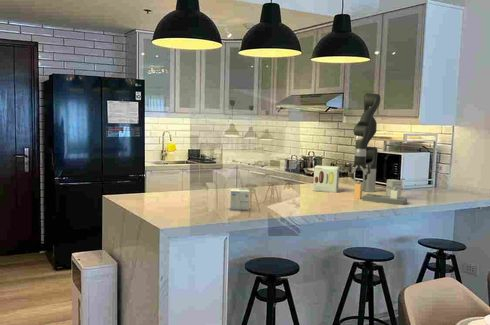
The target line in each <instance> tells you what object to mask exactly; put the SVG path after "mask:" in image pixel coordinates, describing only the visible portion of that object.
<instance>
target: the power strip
mask: <svg viewBox="0 0 490 325" xmlns="http://www.w3.org/2000/svg"><path fill="white" fill-rule="evenodd" d="M396 189H397V187H393V190H391V196H386V195H381V194H373V193H372V194H371V193H367V194H365V195H362V201H365V202H374V203H380V204H381V203H382V204H392V205H400V206H405V205H406V204H407V203H408V198H407V197H398V192H399V190H396Z"/></svg>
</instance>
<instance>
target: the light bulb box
mask: <svg viewBox="0 0 490 325" xmlns="http://www.w3.org/2000/svg"><path fill="white" fill-rule="evenodd" d="M229 203H230V204H229V205H230V206H229V207H230V210H239V211H240V210H242V211H244V210H245V211H246V210H247V211H249V210H250V189H230V202H229Z"/></svg>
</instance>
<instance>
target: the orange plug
mask: <svg viewBox="0 0 490 325" xmlns="http://www.w3.org/2000/svg"><path fill="white" fill-rule="evenodd" d="M362 186H363V183H361V180H357V181H356V183H354V190H353V191H354V195H353V199H355V200H363V191H362Z"/></svg>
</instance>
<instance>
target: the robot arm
mask: <svg viewBox="0 0 490 325" xmlns="http://www.w3.org/2000/svg"><path fill="white" fill-rule="evenodd" d="M380 104H381V95H380V94H378V93H371V92H370V93H367V92H366V93H365V94H364V97H363V113H362V114H361V117H360V119H359V120H358V122H357V123H356V124H355V126H354V127H353V130H352V132H353V135H355V136H356V137H362V138H361V139H357V140H356V141H355V148H354V159H353V160H354V162H353V163H349V165H348V173H350V177H351V178H350V179H352V180H354V179H355V172H356V171H360V172H362V192H366V193H374V192H376V178H377V162H378V161H377V160H378V153H379V152H378V148H377V147H375V146H368V145H369V143H370V141H371V140H372V139H373V138H374V136H375V135H376V133H377V121H376V119H375V117H374V114H376V111H377V110H378V108H379V106H380ZM367 160H371V161H370V162H367ZM353 167H354V168H353Z"/></svg>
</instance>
